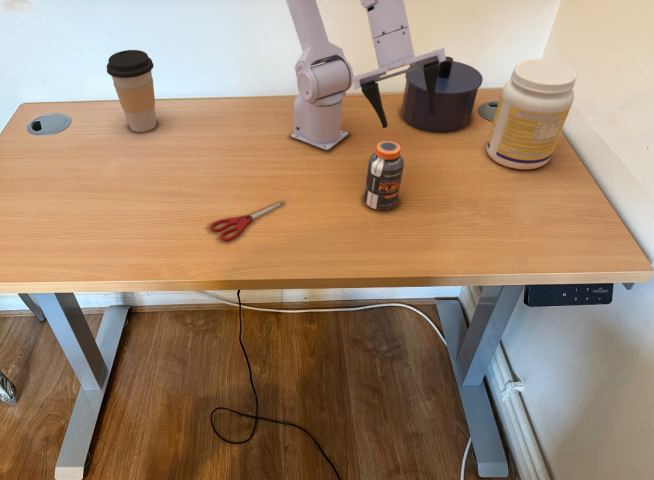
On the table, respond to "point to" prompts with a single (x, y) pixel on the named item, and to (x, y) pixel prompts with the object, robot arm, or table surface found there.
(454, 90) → the pot lid
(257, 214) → the scissors
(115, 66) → the coffee cup
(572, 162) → the table surface
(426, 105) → the pot
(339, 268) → the table surface
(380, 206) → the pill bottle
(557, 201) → the table surface
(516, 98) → the supplement tub
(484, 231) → the table surface
